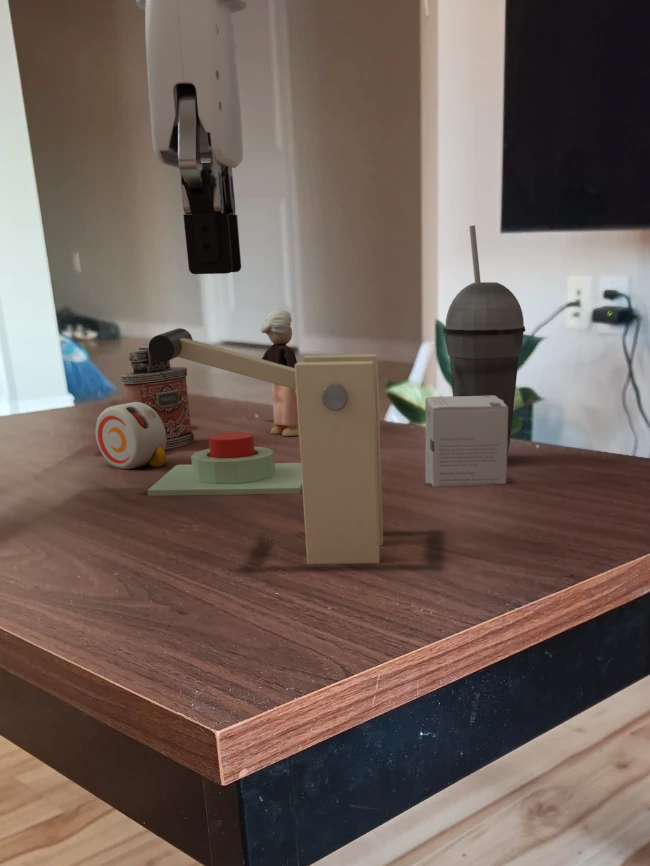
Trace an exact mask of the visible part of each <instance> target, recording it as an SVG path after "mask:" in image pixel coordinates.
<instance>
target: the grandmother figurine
mask: <svg viewBox="0 0 650 866" xmlns="http://www.w3.org/2000/svg"><path fill="white" fill-rule="evenodd" d="M292 321H293V319H292V315H291V313H290V312H289V311H288V310H284V309H279V308H278V309H274V310H272V311H270V313H268V315H266V317H265V319H264V321H263V323H262V324H261V327H260V332H261V333H262V334H266V335H267V337H268V339H269V340H270V342H271V343H272V345H271V346H269V347H268V349H266V351H265V352H264V354H263V356H262V357H261V359H263V360H266V361H270V362H274V363H277V364H281V365H284V366H288V367H292V368H295V364H296V363H298V360H297V356H296V352H295V351H294V349H292V348H290V347H289V346H288V344H289V343H290V341H292V338H293V329H292V326H291V325H292ZM271 395H272V411H273V413H272V414H273V425H274V426H273V427H272V428H271V430H270V434H272V435H273V434H274V435H280V434H281V436H282V437H294V436H295V437H296V436H298V437H299V426H298V410H297V395H296V389H292V388H289V387H285V386H281V385H278V384H274V383H272V391H271Z"/></svg>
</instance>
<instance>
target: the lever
mask: <svg viewBox="0 0 650 866" xmlns="http://www.w3.org/2000/svg"><path fill="white" fill-rule="evenodd" d="M148 345H149V353H150V355H151V356H152V358H153V359H155V360H156V361H158V362H167V361H171V360H173V359H176V358H180V359H184V360H187V361H190V362H194V363H199V364H201V365H206V366H209V367H213V368H215V369H221V370H224V371H227V372H231V373H234V374H238V375H243V376H245V377H248V378H252V379H255V380H260V381H263V382H267V383H271V384H273V383H274V384H278V385H281V386H285V387H289V388H292V389H295V390H296V379H295V368H292V367H288V366H284V365H281V364H277V363H274V362H270V361H266V360H263V359H262V358H259V357H255V356H252V355H248V354H244V353H241V352H238V351H234V350H230V349H226V348H222V347H220V346H216V345H211V344H208V343H204V342H202V341H197V340H194V339H193V336H192V334H191V333H190V332H189V331H188V330H187V329H185V328H181V327H179V328H178V327H177V328H175V329H172V330H169V331H165V332H163V333H159V334H157V335H154V336H153V337H152V338H151V339H150V340H149V343H148Z"/></svg>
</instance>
